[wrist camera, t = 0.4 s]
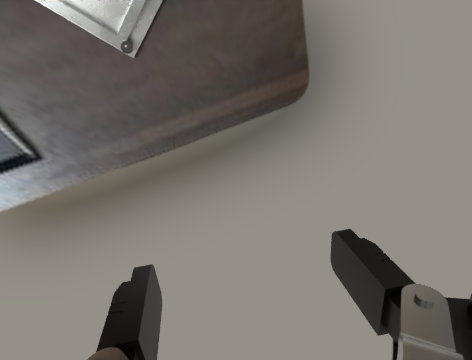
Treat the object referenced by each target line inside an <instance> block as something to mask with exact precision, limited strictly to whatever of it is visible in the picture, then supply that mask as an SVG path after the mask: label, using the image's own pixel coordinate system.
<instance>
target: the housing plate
mask: <svg viewBox="0 0 472 360" xmlns="http://www.w3.org/2000/svg"><path fill="white" fill-rule="evenodd" d="M35 1H37V2H39V3H40V4H42V5H44V6H46V7H47V8H49V9H51V10H52V11H54V12H56V13H57V14H59V15H61V16H63V17H64V18H66V19H68V20H69V21H71V22H73V23H74V24H76V25H78V26H80V27H81V28H83V29H85V30H86V31H88V32H90V33H91V34H93V35H95V36H97V37H98V38H100V39H102V40H103V41H105V42H107V43H108V44H110V45H112V46H113V47H115V48H117V49H119V50H120V51H122V52H124V53H125V54H127V55H129V56H130V57H132V58H134V56H135V54H136V52H137V50H138V48H139V46H140V44H141V43H142V41H143V39H144V37H145V35H146V33H147V31H148V29H149V27H150V25H151V23H152V21H153V19H154V17H155V15H156V13H157V11H158V9H159V7H160V5H161V3H162V1H163V0H35Z"/></svg>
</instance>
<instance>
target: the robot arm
mask: <svg viewBox="0 0 472 360" xmlns="http://www.w3.org/2000/svg"><path fill="white" fill-rule="evenodd" d="M331 264H332V268H333V270H334V272H335V274H336V275H337V277H338V278H339V279H340V281H341V282H342V284H343V285H344V287H345V288H346V289H347V291H348V293H349V294H350V296H351V297H352V299H353V300H354V301H355V303H356V304H357V306H358V307H359V309H360V310H361V312H362V313H363V315H364V316H365V317H366V319H367V320H368V322H369V323H370V325H371V326H372V328H373V329H374V330H375V332H376V333H377V335H383V334H388V333H389V334H390V336H391V337H392V338H393V341H392V352H391V360H472V294H471V297H470V299H458V298H446V297H444V296H443V295H442V294H440V293H439V292H438V291H436V290H434V289H433V288H431V287H428V286H425V285H421V284H415V283H414V282H413V281H412V280H411V279H410V278H409V277H408V276H407V275H406V274H405V273H404V272H403V271H402V270H401V269H400V268H399V267H398V266H397V265H396V264H395V263H394V262H393V261H392V260H390V258H389V257H388V256H387V255H386V254H384V253H383V251H382V250H381V249H380V248H379V247H378V246H377V245H376V244H375V243H373V242H371V241H369V240H367V239H365V238H362V239H360V238H359V237H358V236H357V235H356V234H355V233H354V232H353V231H352V230H351V229H346V230H341V231H335V232H333V233H332V241H331ZM161 312H162V296H161V291H160V287H159V283H158V280H157V276H156V272H155V268H154V266H153V265H146V266H141V267H135V268H134V270H133V274H132V278H131V281H128V282H123V283H122V284H121V285H120V286H119V288H118V289H117V290H116V291H115V293H114V296H113V299H112V302H111V306H110V309H109V312H108V316H107V318H106V322H105V325H104V329H103V331H102V335H101V338H100V342H99V345H98V348H97V351H96V353H95V354H93V355H92V356H91V357H90V358H89V359H88V360H157V353H158V342H159V333H160V322H161Z"/></svg>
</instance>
